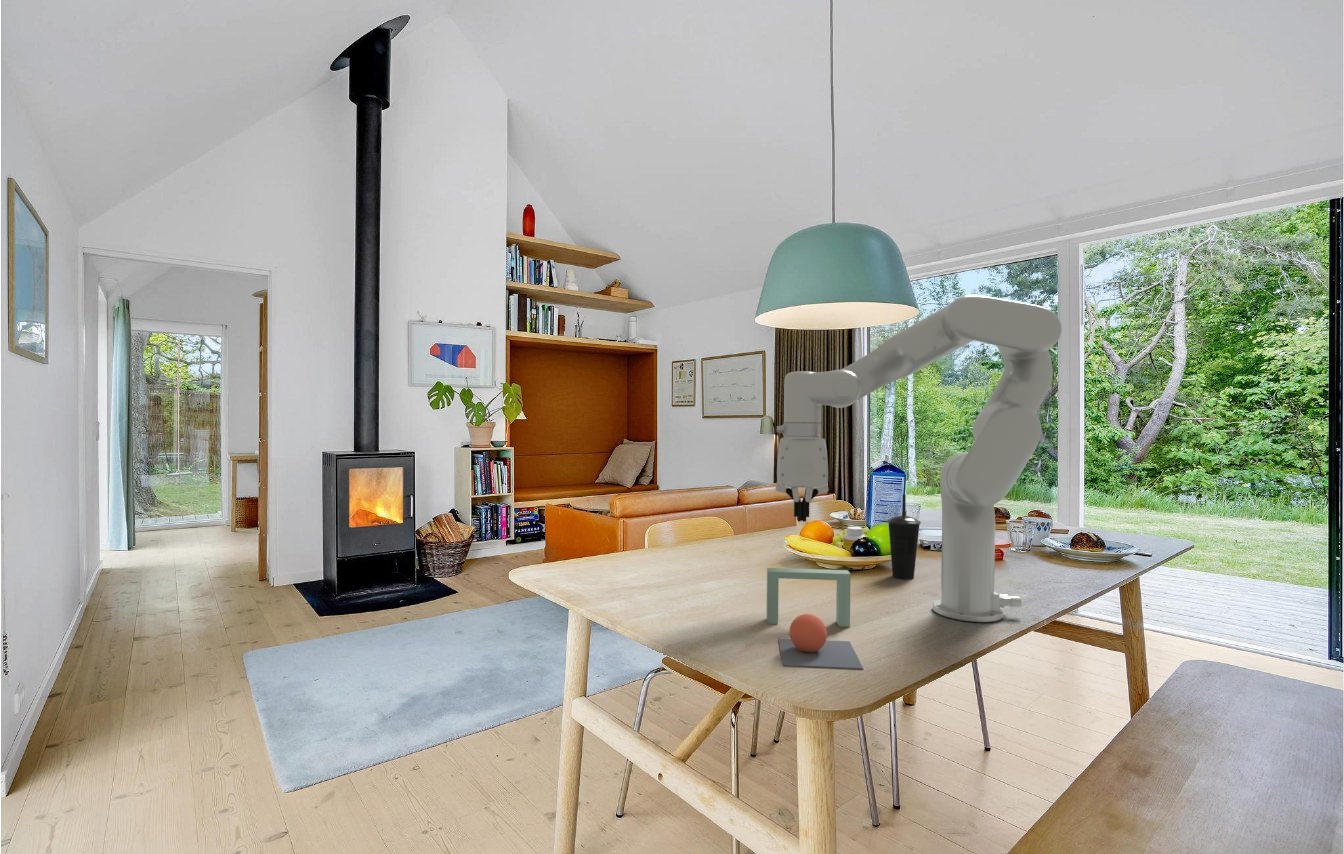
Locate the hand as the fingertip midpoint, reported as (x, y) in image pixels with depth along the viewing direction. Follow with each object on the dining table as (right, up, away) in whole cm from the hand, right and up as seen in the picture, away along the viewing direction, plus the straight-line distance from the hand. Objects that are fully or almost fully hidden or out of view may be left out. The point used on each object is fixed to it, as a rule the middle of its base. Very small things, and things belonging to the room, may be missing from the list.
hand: (801, 520), depth 133 cm
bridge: (-1, -17, -13) cm, 21 cm away
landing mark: (-3, -17, -29) cm, 34 cm away
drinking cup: (+29, -17, +23) cm, 41 cm away
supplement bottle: (+20, -17, +33) cm, 43 cm away
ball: (-4, -14, -28) cm, 32 cm away
